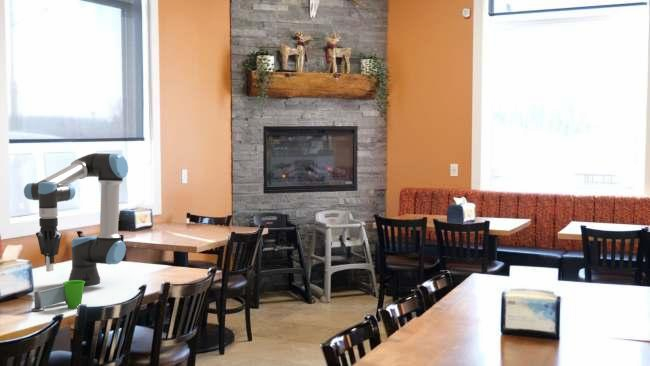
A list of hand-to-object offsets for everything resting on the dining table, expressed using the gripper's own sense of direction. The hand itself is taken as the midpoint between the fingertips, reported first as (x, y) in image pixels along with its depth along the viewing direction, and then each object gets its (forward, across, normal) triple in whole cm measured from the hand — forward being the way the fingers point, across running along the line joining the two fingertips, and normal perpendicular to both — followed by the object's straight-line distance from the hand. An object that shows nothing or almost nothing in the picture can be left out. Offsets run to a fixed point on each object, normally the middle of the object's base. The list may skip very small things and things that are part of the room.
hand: (49, 270), depth 337 cm
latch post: (+15, +7, +4) cm, 17 cm away
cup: (+15, +14, -1) cm, 20 cm away
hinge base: (+14, +4, -12) cm, 19 cm away
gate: (+14, +4, -5) cm, 15 cm away
